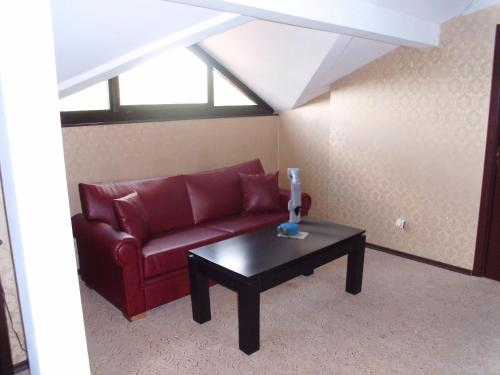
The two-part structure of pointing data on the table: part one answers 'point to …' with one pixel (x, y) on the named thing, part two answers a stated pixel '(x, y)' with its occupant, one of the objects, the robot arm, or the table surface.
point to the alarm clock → (288, 229)
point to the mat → (300, 235)
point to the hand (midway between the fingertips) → (297, 215)
